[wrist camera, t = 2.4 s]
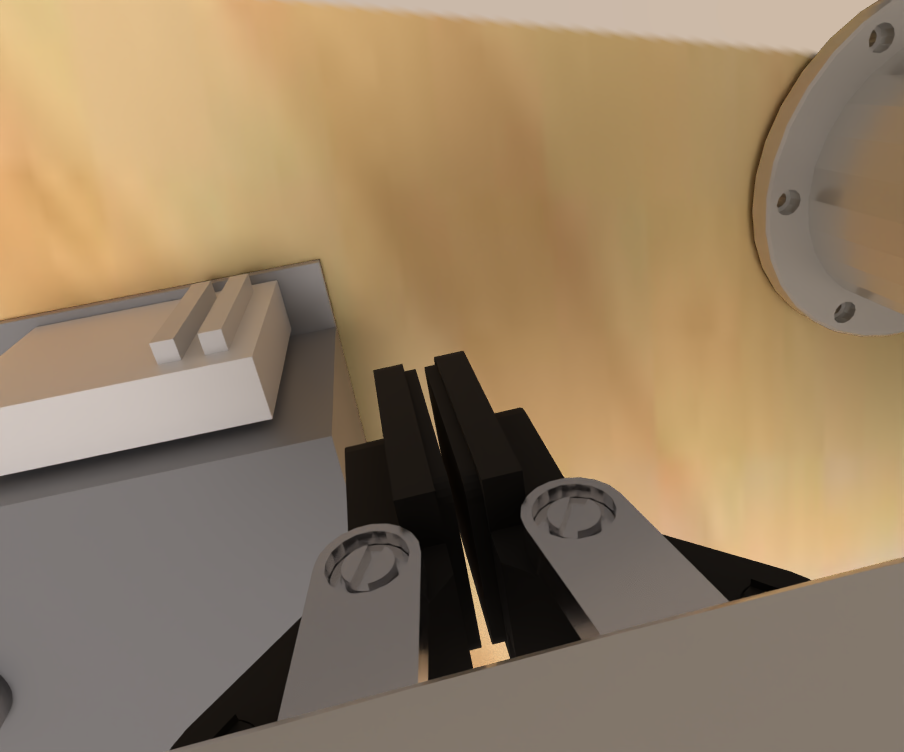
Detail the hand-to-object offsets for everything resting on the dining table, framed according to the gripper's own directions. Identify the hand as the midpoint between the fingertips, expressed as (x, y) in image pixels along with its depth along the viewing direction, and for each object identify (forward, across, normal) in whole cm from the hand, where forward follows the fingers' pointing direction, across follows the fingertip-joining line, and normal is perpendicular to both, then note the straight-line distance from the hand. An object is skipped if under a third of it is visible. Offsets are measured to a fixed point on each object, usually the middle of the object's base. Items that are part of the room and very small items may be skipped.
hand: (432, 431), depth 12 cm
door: (+11, +8, 0) cm, 14 cm away
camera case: (+12, +10, +6) cm, 16 cm away
